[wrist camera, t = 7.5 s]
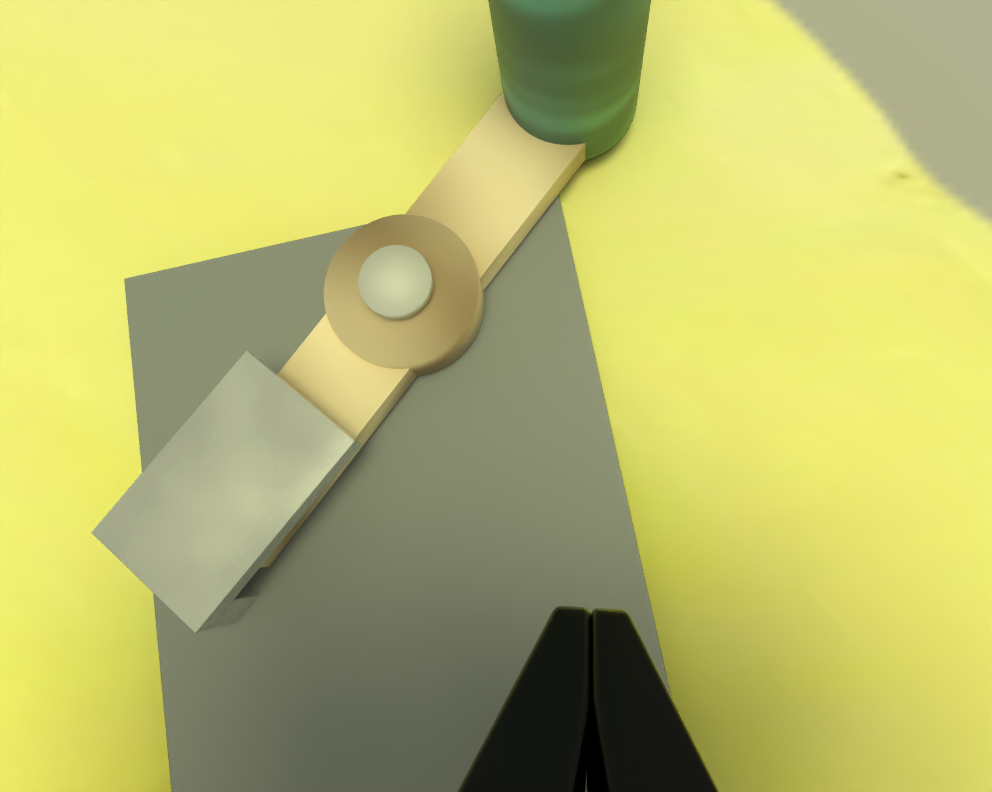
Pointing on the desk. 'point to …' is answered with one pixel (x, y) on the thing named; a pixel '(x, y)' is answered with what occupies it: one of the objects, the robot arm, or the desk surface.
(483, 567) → the base plate
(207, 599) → the block
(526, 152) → the link
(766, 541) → the desk surface
